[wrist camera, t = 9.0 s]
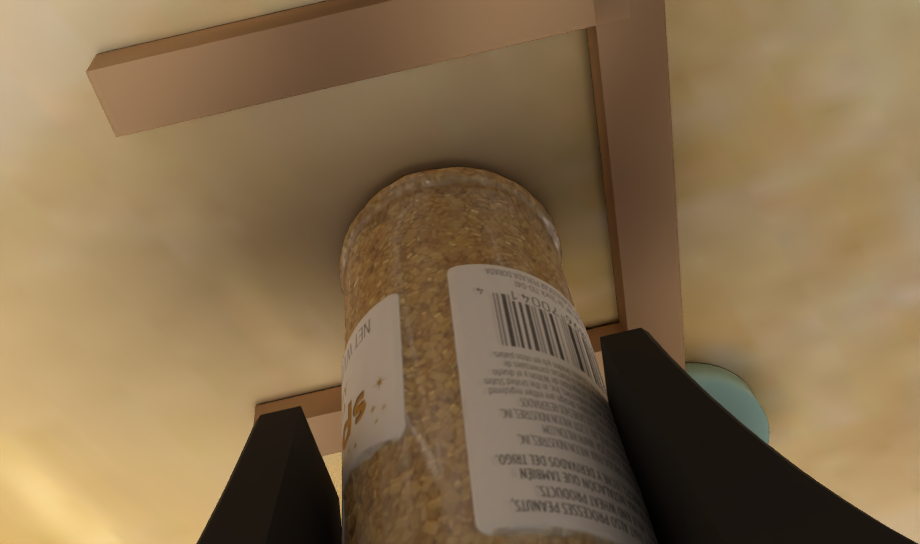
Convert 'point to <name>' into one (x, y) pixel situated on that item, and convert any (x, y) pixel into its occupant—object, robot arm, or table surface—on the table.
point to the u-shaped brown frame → (422, 43)
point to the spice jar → (473, 377)
